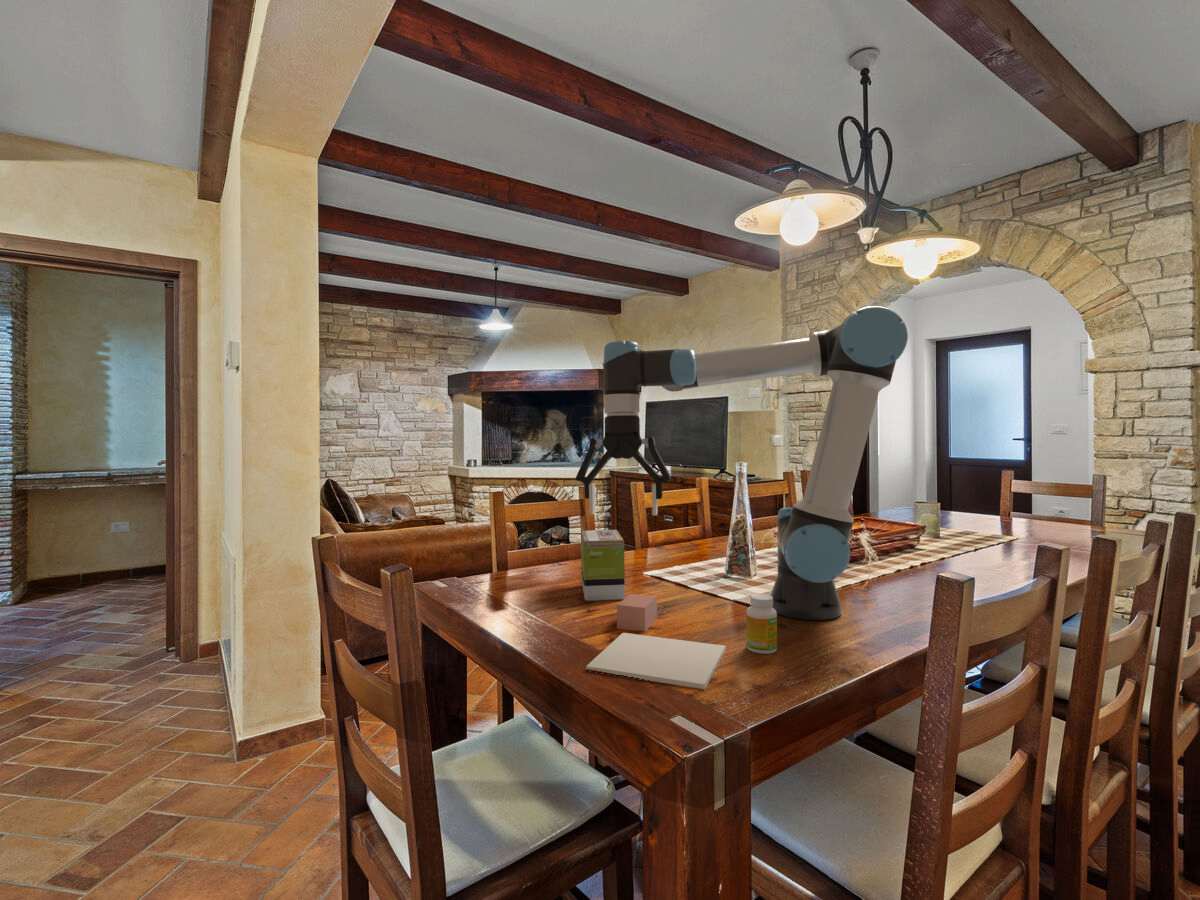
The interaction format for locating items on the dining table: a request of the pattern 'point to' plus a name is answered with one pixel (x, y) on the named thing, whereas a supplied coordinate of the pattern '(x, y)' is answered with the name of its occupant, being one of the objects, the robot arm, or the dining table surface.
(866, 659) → the dining table surface
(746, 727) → the dining table surface
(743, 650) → the dining table surface
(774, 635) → the supplement bottle
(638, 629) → the reddish brown rectangular block
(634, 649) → the mat
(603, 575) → the tea box
